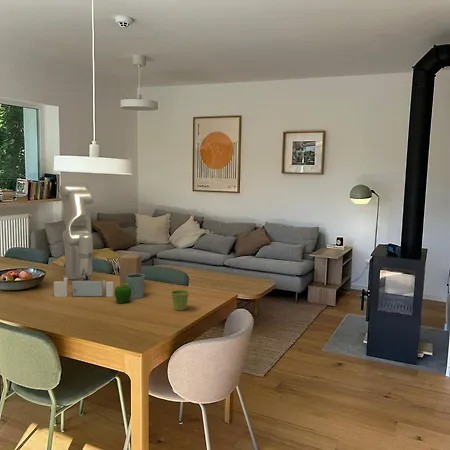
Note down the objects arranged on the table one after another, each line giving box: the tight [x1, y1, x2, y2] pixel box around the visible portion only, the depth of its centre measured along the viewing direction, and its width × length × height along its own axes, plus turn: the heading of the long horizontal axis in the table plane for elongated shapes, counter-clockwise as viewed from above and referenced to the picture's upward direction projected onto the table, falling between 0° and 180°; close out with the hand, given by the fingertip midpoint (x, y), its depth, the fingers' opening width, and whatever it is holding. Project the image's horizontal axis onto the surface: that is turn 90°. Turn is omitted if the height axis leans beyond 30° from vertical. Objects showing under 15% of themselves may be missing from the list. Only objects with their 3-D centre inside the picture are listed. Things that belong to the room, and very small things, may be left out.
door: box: [71, 280, 103, 297], centre depth 243 cm, size 16×2×8 cm, turn 91°
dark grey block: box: [74, 279, 94, 282], centre depth 251 cm, size 7×10×6 cm
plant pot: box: [170, 289, 190, 312], centre depth 224 cm, size 9×9×9 cm
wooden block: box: [119, 253, 143, 287], centre depth 257 cm, size 10×10×20 cm
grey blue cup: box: [126, 273, 146, 300], centre depth 244 cm, size 10×10×12 cm
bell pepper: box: [114, 284, 131, 304], centre depth 234 cm, size 8×8×10 cm
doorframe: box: [53, 278, 115, 298], centre depth 243 cm, size 2×32×10 cm, turn 91°
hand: (87, 286), depth 258 cm, fingers closed
